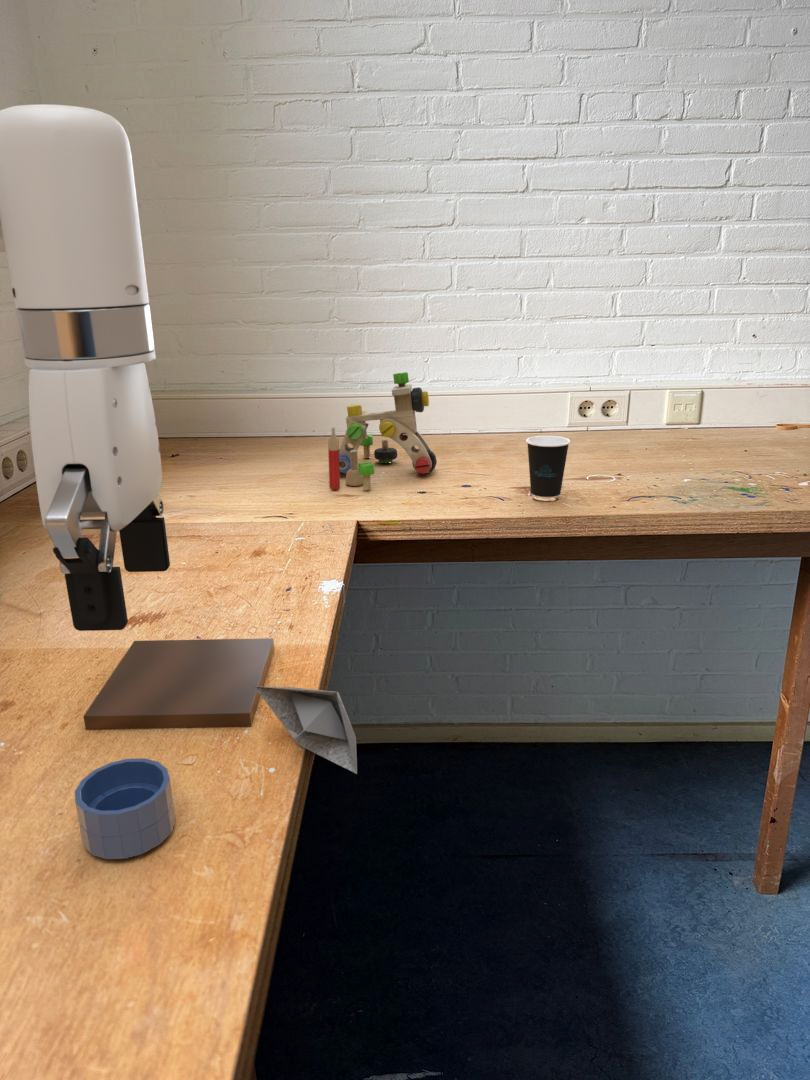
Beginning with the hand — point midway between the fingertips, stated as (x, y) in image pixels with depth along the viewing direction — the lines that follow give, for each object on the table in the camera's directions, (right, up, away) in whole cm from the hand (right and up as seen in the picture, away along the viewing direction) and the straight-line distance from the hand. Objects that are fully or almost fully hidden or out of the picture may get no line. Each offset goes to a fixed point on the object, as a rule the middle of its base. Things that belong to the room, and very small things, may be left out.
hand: (126, 596), depth 54 cm
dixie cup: (+45, +11, +94) cm, 105 cm away
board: (-4, -12, +31) cm, 33 cm away
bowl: (-3, -19, +9) cm, 21 cm away
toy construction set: (+13, +17, +111) cm, 113 cm away
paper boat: (+10, -16, +19) cm, 27 cm away
